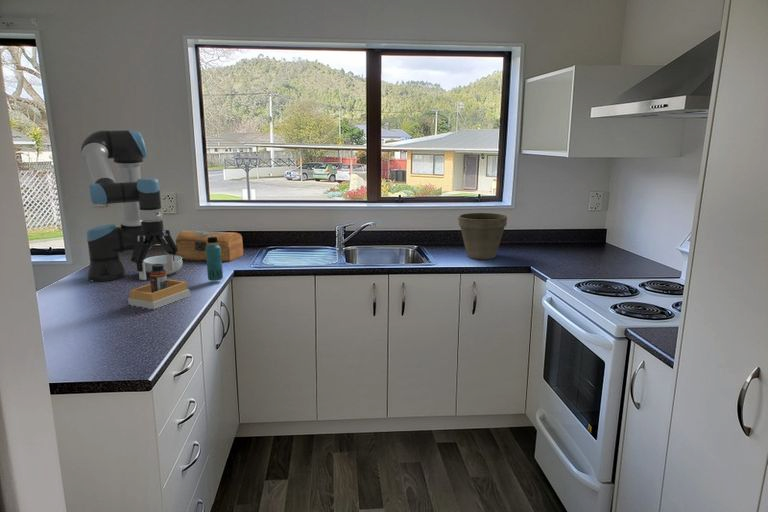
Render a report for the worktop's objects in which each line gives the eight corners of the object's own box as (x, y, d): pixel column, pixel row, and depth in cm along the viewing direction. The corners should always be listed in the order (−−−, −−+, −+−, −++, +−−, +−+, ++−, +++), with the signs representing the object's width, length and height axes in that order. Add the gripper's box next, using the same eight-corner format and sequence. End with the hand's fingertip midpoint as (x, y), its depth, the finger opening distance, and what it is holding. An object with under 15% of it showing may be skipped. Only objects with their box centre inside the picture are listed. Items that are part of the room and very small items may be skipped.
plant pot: (448, 253, 278) (449, 213, 273) (486, 249, 288) (487, 210, 283) (474, 264, 256) (476, 220, 251) (514, 259, 266) (517, 217, 261)
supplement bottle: (148, 293, 200) (146, 264, 198) (163, 290, 204) (161, 262, 202) (155, 296, 196) (153, 267, 194) (171, 293, 201) (168, 264, 198)
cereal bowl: (169, 279, 230) (168, 264, 229) (136, 277, 234) (134, 262, 232) (190, 269, 247) (189, 255, 245) (159, 268, 250) (158, 253, 248)
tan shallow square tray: (119, 304, 197) (117, 289, 196) (156, 291, 213) (155, 277, 212) (154, 310, 190) (152, 294, 189) (190, 296, 206) (189, 282, 205)
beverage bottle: (207, 284, 222) (203, 239, 218) (208, 280, 228) (204, 236, 224) (223, 283, 224) (219, 238, 219) (223, 279, 230) (220, 235, 226)
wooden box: (175, 260, 266) (172, 233, 263) (193, 253, 282) (191, 227, 279) (228, 263, 260) (226, 236, 256) (244, 255, 275) (242, 230, 272)
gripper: (131, 226, 181) (137, 284, 186) (184, 215, 203) (188, 267, 208) (115, 224, 184) (122, 282, 189) (169, 214, 206) (174, 265, 211)
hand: (157, 274), depth 199 cm, fingers open, 13 cm apart
